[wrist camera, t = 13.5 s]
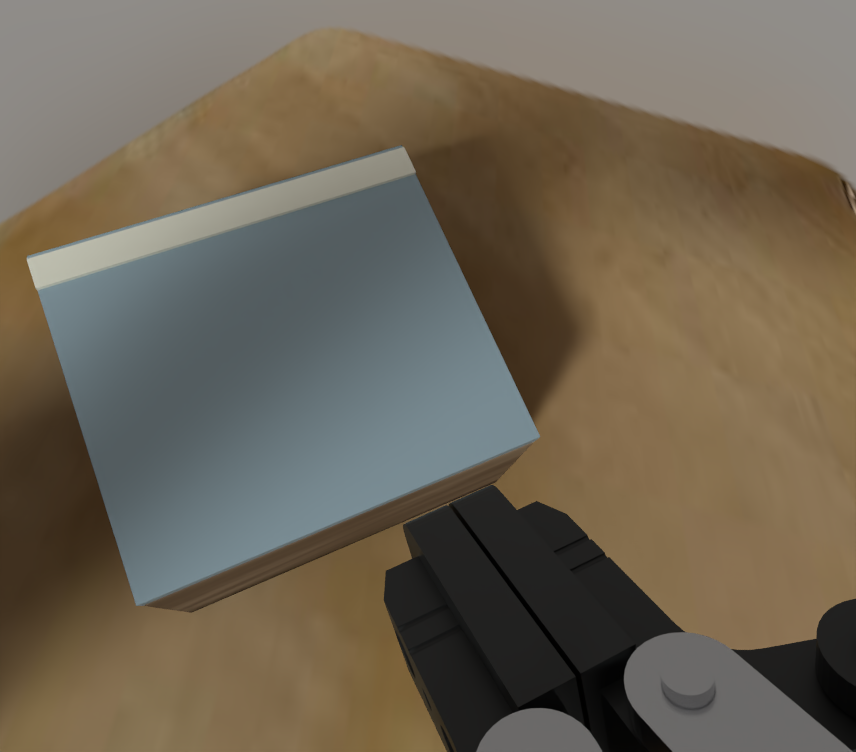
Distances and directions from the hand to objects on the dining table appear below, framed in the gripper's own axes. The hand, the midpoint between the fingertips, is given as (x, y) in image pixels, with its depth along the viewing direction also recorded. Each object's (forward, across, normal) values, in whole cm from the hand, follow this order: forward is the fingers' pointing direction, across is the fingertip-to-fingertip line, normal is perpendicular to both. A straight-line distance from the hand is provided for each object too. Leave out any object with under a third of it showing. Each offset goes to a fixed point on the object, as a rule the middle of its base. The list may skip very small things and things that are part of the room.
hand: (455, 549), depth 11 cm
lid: (+22, 0, +5) cm, 23 cm away
